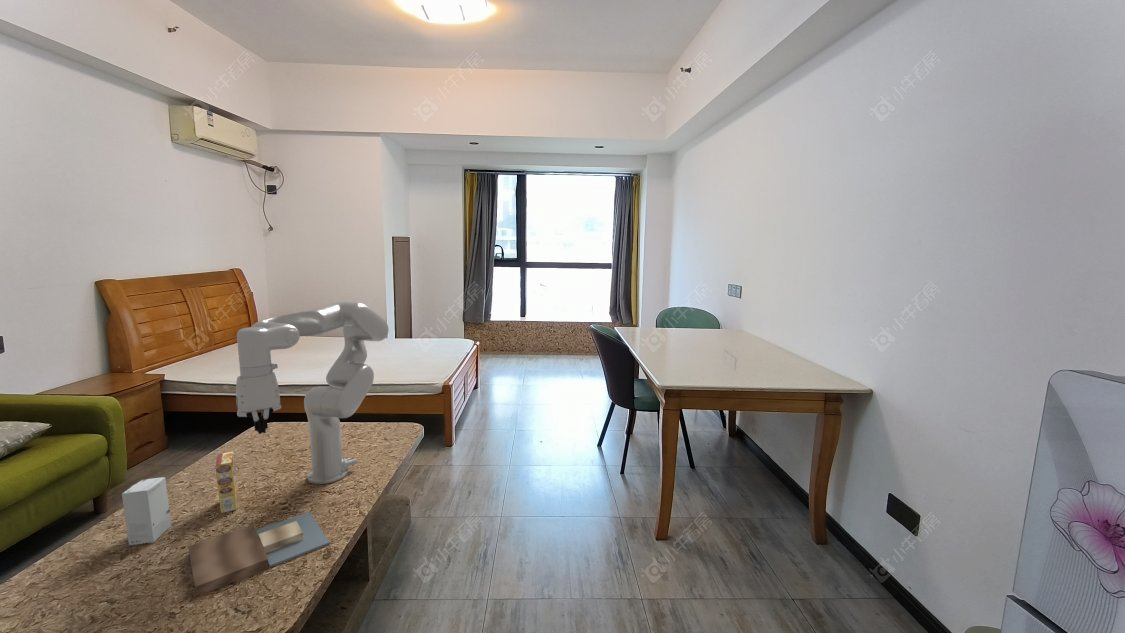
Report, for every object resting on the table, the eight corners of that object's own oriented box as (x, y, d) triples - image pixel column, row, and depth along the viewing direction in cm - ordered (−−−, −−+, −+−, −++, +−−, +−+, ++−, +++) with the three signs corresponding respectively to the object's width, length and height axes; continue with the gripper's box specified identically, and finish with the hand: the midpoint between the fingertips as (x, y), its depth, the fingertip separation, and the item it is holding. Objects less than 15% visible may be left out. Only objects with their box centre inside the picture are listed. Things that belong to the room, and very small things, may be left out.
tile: (296, 527, 128) (296, 521, 128) (303, 539, 123) (302, 532, 123) (258, 541, 122) (258, 534, 122) (264, 553, 117) (263, 546, 117)
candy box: (237, 510, 137) (232, 461, 135) (219, 514, 135) (214, 465, 133) (238, 496, 145) (234, 450, 142) (221, 500, 142) (217, 453, 140)
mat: (310, 513, 136) (309, 511, 136) (329, 544, 122) (329, 542, 122) (255, 532, 127) (255, 530, 127) (270, 567, 113) (269, 565, 113)
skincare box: (153, 543, 121) (147, 491, 119) (127, 546, 120) (119, 493, 118) (172, 525, 129) (167, 475, 127) (147, 527, 128) (141, 477, 126)
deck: (254, 532, 126) (253, 524, 126) (268, 568, 113) (267, 559, 112) (189, 554, 117) (188, 545, 117) (196, 596, 103) (195, 586, 103)
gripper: (283, 364, 138) (287, 422, 140) (221, 372, 128) (228, 434, 130) (289, 369, 132) (293, 429, 135) (225, 378, 122) (232, 443, 125)
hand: (261, 431), depth 133 cm, fingers closed
